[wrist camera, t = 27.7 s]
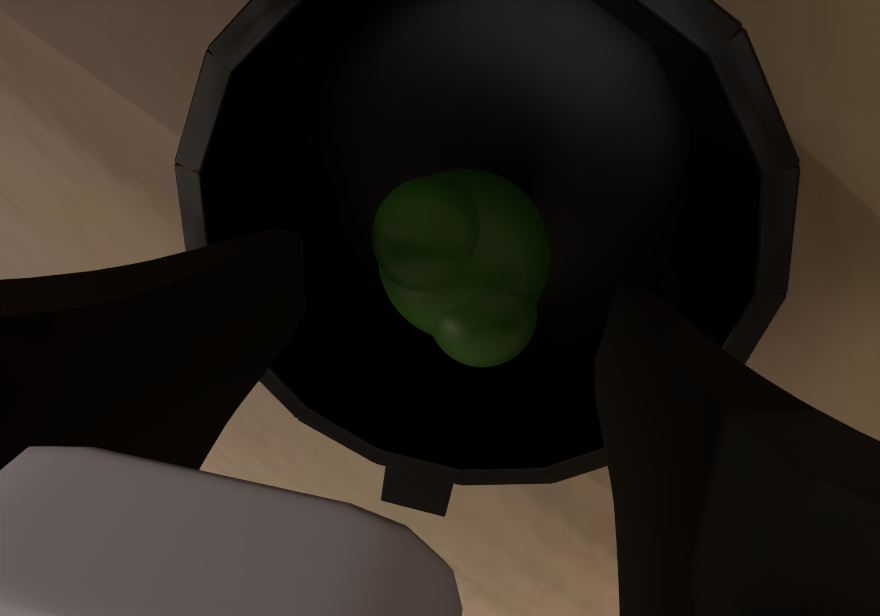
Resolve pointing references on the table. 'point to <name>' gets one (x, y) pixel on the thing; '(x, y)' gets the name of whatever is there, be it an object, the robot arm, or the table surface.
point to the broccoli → (464, 261)
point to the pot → (513, 157)
